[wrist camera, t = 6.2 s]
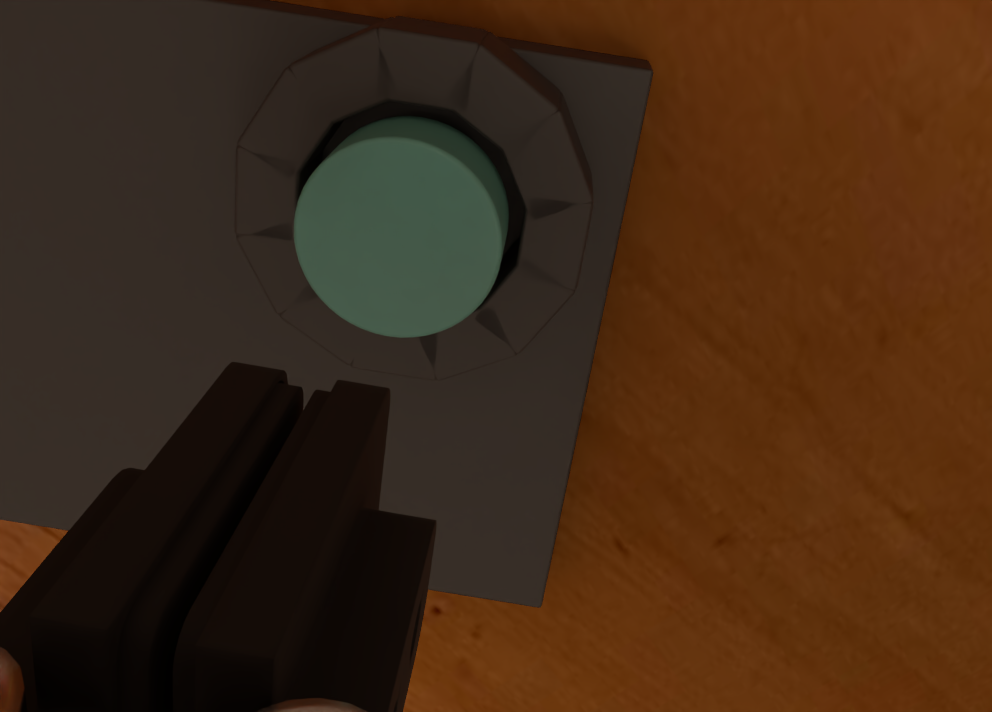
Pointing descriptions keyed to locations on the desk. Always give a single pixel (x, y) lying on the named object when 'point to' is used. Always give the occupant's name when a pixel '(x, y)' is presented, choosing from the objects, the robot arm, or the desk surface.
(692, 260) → the desk surface
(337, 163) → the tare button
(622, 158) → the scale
